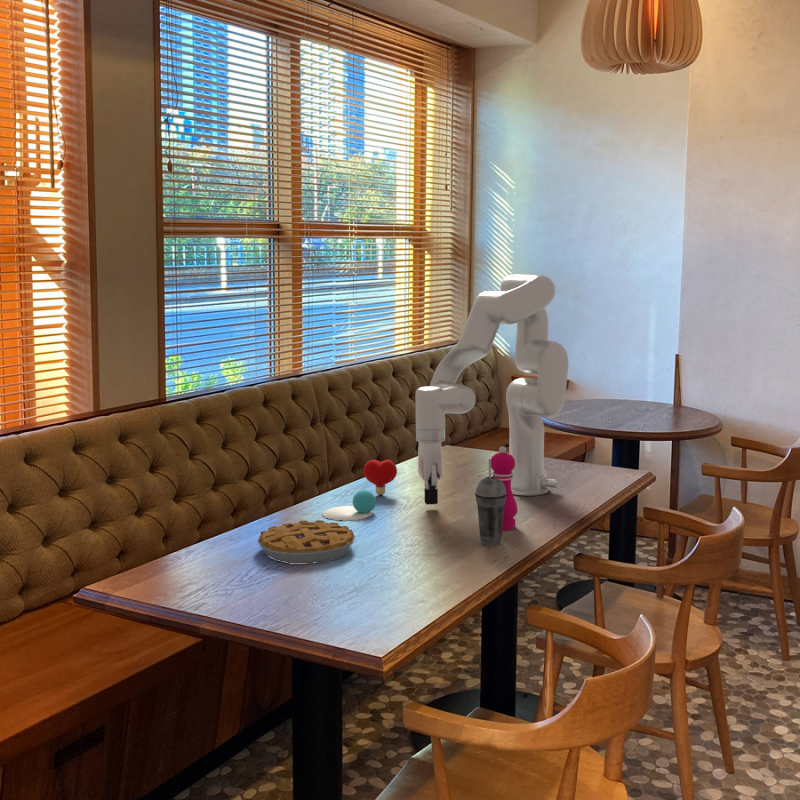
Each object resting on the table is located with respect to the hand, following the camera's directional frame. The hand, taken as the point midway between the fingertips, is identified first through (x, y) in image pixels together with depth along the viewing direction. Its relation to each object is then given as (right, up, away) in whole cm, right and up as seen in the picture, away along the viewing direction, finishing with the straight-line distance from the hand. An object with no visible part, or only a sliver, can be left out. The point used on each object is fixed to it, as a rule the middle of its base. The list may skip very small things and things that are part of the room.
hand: (431, 503), depth 242 cm
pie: (-29, -8, -32) cm, 44 cm away
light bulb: (-13, 0, +14) cm, 20 cm away
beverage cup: (+13, -6, -29) cm, 32 cm away
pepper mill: (+17, -4, -16) cm, 24 cm away
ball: (-17, +1, -3) cm, 18 cm away
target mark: (-22, -2, -3) cm, 22 cm away
